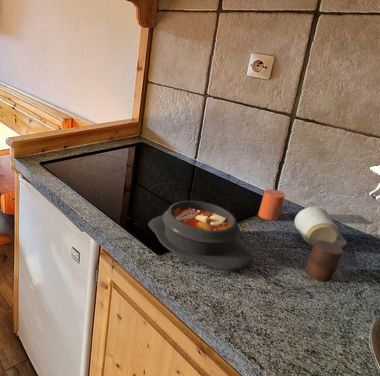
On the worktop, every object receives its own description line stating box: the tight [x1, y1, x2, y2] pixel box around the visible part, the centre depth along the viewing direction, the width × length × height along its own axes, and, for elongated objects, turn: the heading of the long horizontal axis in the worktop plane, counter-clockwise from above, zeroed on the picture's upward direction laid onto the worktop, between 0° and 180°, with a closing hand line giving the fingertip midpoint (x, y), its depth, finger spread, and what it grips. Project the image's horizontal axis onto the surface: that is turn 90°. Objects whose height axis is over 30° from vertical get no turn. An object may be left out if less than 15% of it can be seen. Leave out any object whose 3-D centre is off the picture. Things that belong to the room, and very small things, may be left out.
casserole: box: [147, 200, 253, 271], centre depth 95 cm, size 25×19×8 cm
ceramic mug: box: [294, 206, 347, 249], centre depth 97 cm, size 11×8×8 cm
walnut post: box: [304, 241, 344, 283], centre depth 86 cm, size 5×5×7 cm
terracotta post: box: [257, 188, 286, 221], centre depth 109 cm, size 5×5×7 cm
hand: (374, 198), depth 94 cm, fingers closed
